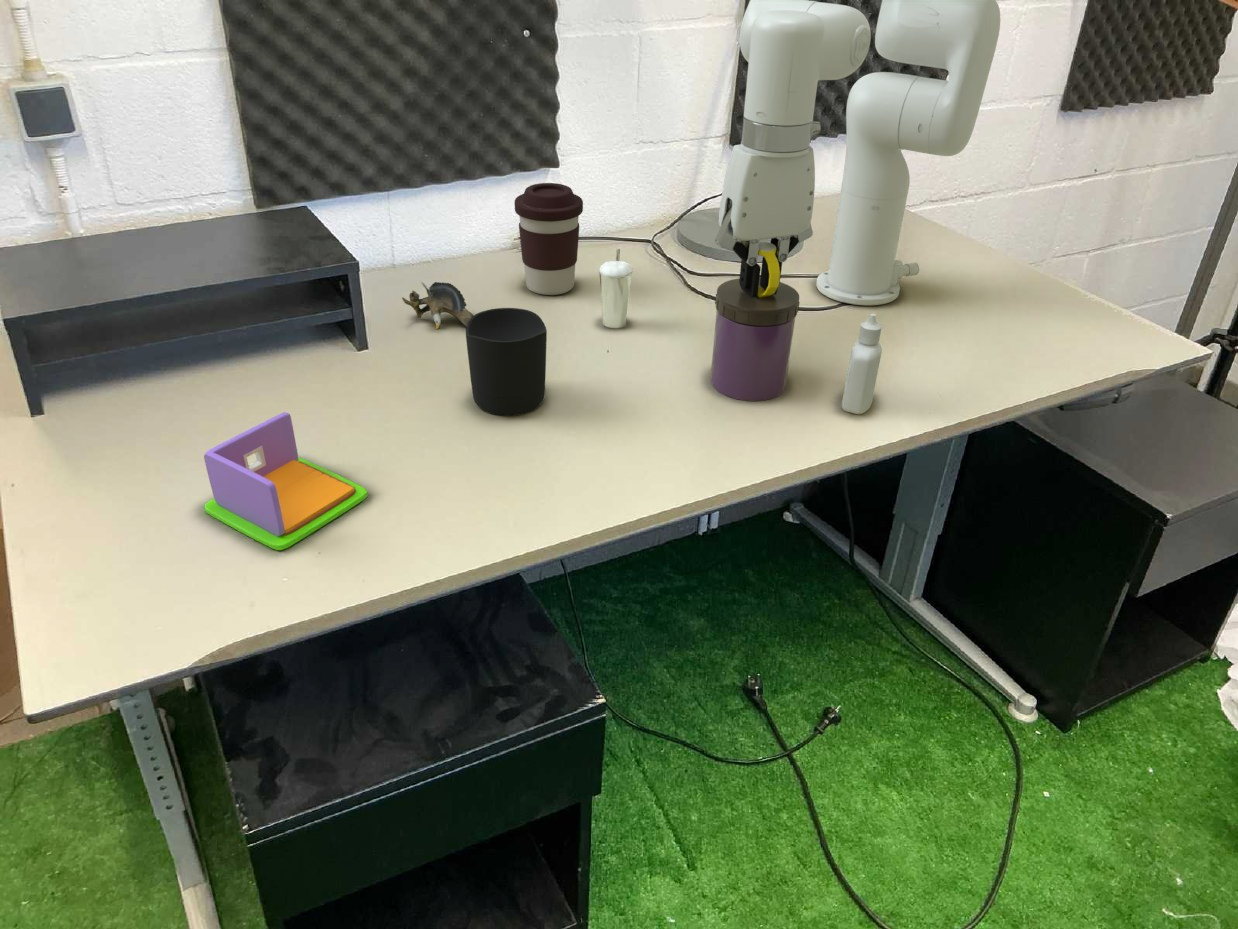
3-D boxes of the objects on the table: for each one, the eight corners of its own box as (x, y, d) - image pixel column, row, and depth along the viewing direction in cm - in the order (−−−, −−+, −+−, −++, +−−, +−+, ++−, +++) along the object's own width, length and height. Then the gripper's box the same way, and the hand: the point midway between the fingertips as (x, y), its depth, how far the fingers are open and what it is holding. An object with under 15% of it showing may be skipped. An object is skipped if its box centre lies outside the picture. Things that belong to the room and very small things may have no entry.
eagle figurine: (402, 327, 131) (465, 321, 129) (399, 275, 131) (462, 268, 129) (424, 335, 138) (484, 329, 136) (421, 286, 138) (481, 279, 137)
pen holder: (562, 394, 119) (562, 319, 113) (518, 426, 112) (515, 349, 106) (501, 374, 123) (497, 301, 117) (454, 404, 116) (448, 329, 110)
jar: (763, 361, 128) (773, 278, 121) (799, 394, 120) (812, 308, 114) (698, 371, 125) (704, 287, 118) (730, 406, 117) (739, 318, 111)
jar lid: (772, 288, 122) (774, 273, 121) (812, 320, 115) (815, 304, 113) (701, 297, 119) (703, 282, 118) (738, 330, 112) (739, 314, 110)
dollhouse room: (199, 510, 97) (184, 453, 93) (294, 458, 105) (284, 404, 101) (279, 554, 91) (267, 495, 87) (372, 495, 100) (365, 439, 96)
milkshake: (632, 315, 139) (634, 249, 133) (629, 331, 134) (631, 263, 129) (601, 313, 139) (602, 247, 134) (596, 329, 135) (597, 261, 129)
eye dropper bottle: (827, 403, 119) (842, 313, 112) (859, 391, 121) (875, 302, 115) (853, 418, 116) (870, 326, 109) (885, 405, 118) (904, 315, 112)
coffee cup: (570, 271, 152) (570, 176, 144) (591, 295, 144) (592, 196, 136) (509, 278, 149) (506, 182, 141) (528, 303, 141) (525, 203, 133)
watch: (735, 285, 118) (739, 238, 114) (754, 282, 119) (759, 235, 115) (762, 304, 113) (768, 255, 110) (782, 300, 114) (788, 252, 111)
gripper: (821, 122, 111) (800, 273, 121) (696, 131, 106) (685, 287, 116) (856, 138, 105) (831, 295, 115) (725, 149, 100) (711, 312, 110)
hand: (758, 290), depth 116 cm, fingers closed on watch, 2 cm apart
